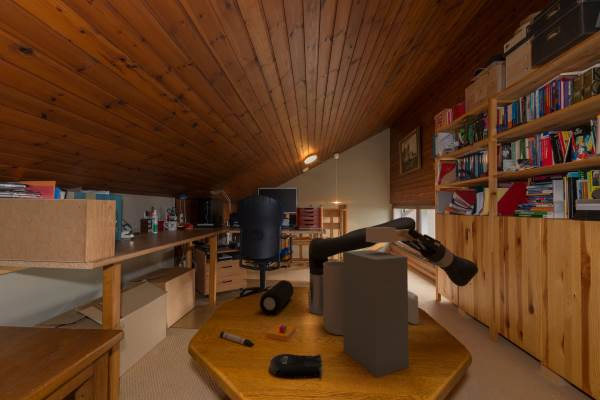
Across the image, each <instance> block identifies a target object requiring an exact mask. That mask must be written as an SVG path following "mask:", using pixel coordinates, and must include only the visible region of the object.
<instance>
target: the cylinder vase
mask: <svg viewBox="0 0 600 400" xmlns="http://www.w3.org/2000/svg"><path fill="white" fill-rule="evenodd" d="M322 317H323V319H322V321H323V323H322V325H323V329H324V331H326V332H327V333H328V334H332V335H336V336H343V260H331V261H329V260H328V262H325V263H323V315H322Z"/></svg>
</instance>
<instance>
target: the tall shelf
mask: <svg viewBox="0 0 600 400" xmlns="http://www.w3.org/2000/svg"><path fill="white" fill-rule="evenodd" d="M342 254H343V257H342V258H343V260H342V261H343V335H342V336H343V338H342V339H343V340H342V341H343V342H342V343H343V351H344V352H345V353H347V354H348V355H349V356H350V357H351V358H353V360H355V361H356V362H357V363H358V364H360V365H361V366H362V367H363V368H364V369H366V370H367V371H368V372H369V373H370V374H372V375H373V376H374V377H375V378H380V377H382V376H386V375H389V374H392V373H394V372H399V371H403V370H405V369H408V368H410V366H409V365H410V360H409V359H410V354H409V353H410V351H409V345H410V344H409V343H410V342H409V322H408V291H409V289H408V288H409V285H408V282H409V281H408V274H409V272H408V267H409V266H408V256H404V255H399V254H393V253H388V252H383V251H379V250H373V249H367V250H354V251H348V252H343V253H342Z"/></svg>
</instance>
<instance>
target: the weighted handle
mask: <svg viewBox="0 0 600 400" xmlns="http://www.w3.org/2000/svg"><path fill="white" fill-rule="evenodd" d="M365 228H366V242H373V243H377V244H382V243H384V244H385V243H396V242H400V241H412V240H416V239H414V238H413V237H412V236H410V235H409V234H408V231H409V229H406V230H396V228H392V227H371V226H367V227H365ZM415 231H416V232H418V233H419V229H415Z"/></svg>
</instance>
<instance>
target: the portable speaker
mask: <svg viewBox="0 0 600 400" xmlns="http://www.w3.org/2000/svg"><path fill="white" fill-rule="evenodd" d="M293 295H294V287H293V284H292V283H291V282H290V281H288V280H286V279H285V280H283V279H282V280H280V281H278V282H277V283H276V284H274V285H273V286H272V287H271V288H269V289H268V290H266V292H264V293H263V294H262V295H261V297H260V300H259V308H260V310H261V311H262V312H263V313H265V314H266V315H275V314H276V313H278V312H279V311H280V310H281V309H282V308H283V307H284V306H285V304H287V302H288V301H289V300H290V299H291V298H292V297H293Z"/></svg>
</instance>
